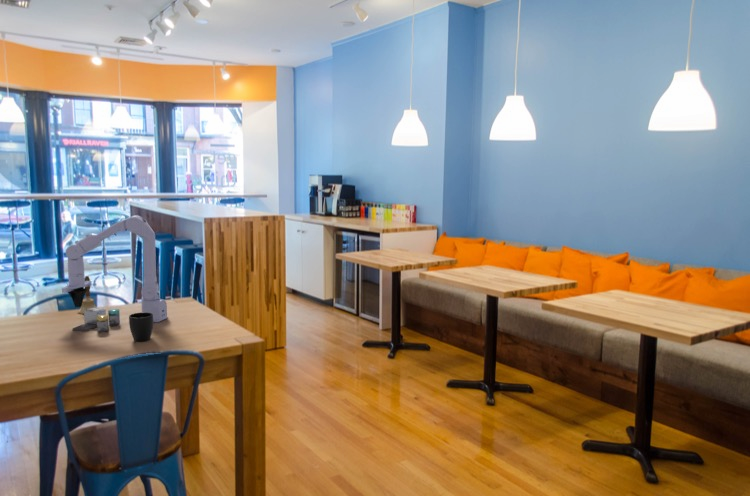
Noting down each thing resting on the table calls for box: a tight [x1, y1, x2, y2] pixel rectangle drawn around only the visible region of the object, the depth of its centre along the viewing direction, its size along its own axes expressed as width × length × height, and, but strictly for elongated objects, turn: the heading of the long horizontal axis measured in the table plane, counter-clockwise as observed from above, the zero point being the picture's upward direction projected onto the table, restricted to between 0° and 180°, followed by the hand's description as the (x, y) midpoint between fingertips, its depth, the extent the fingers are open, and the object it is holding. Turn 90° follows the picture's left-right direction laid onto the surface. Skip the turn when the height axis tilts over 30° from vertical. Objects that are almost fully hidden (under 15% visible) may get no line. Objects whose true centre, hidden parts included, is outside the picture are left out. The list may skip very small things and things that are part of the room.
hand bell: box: [77, 275, 97, 315], centre depth 242 cm, size 8×8×16 cm
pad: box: [72, 323, 97, 332], centre depth 218 cm, size 6×6×1 cm
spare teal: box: [107, 308, 121, 327], centre depth 224 cm, size 4×4×6 cm
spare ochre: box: [96, 314, 110, 334], centre depth 215 cm, size 4×4×6 cm
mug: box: [128, 311, 154, 343], centre depth 207 cm, size 8×12×10 cm
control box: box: [83, 307, 107, 325], centre depth 224 cm, size 6×5×6 cm
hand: (78, 306), depth 225 cm, fingers closed
